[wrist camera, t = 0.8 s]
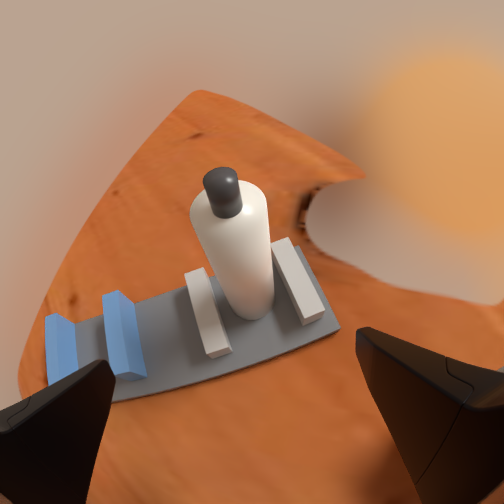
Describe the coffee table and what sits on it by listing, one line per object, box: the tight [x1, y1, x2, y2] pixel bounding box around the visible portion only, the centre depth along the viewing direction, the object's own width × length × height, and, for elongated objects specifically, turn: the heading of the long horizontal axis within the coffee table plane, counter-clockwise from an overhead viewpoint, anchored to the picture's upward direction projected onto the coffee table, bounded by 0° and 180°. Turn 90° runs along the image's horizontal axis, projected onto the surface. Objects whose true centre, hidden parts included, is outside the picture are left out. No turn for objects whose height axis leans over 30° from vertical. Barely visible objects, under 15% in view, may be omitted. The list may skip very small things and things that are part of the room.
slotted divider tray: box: [45, 237, 341, 403], centre depth 22 cm, size 9×28×4 cm, turn 109°
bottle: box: [190, 167, 275, 320], centre depth 18 cm, size 4×4×14 cm
